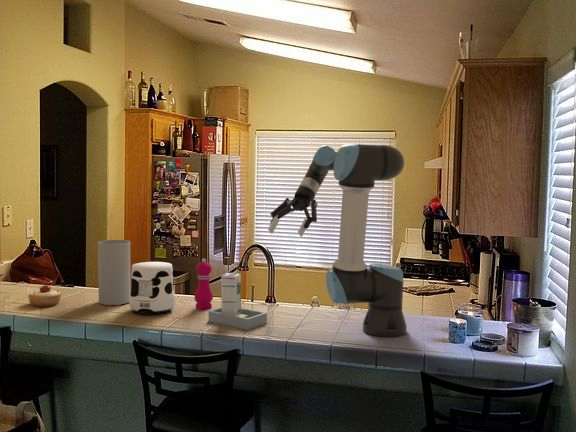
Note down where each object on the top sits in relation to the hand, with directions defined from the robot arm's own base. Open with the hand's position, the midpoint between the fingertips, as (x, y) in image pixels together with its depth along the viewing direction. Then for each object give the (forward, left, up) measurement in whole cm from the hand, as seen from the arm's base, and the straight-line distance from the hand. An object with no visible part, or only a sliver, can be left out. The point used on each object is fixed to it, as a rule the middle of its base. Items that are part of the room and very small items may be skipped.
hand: (284, 232), depth 221 cm
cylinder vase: (+66, +26, -32) cm, 78 cm away
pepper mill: (+31, +11, -32) cm, 46 cm away
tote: (+6, +20, -32) cm, 38 cm away
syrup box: (+9, +20, -29) cm, 36 cm away
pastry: (+85, +44, -32) cm, 101 cm away
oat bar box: (+7, +20, -31) cm, 37 cm away
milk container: (+44, +26, -32) cm, 60 cm away
